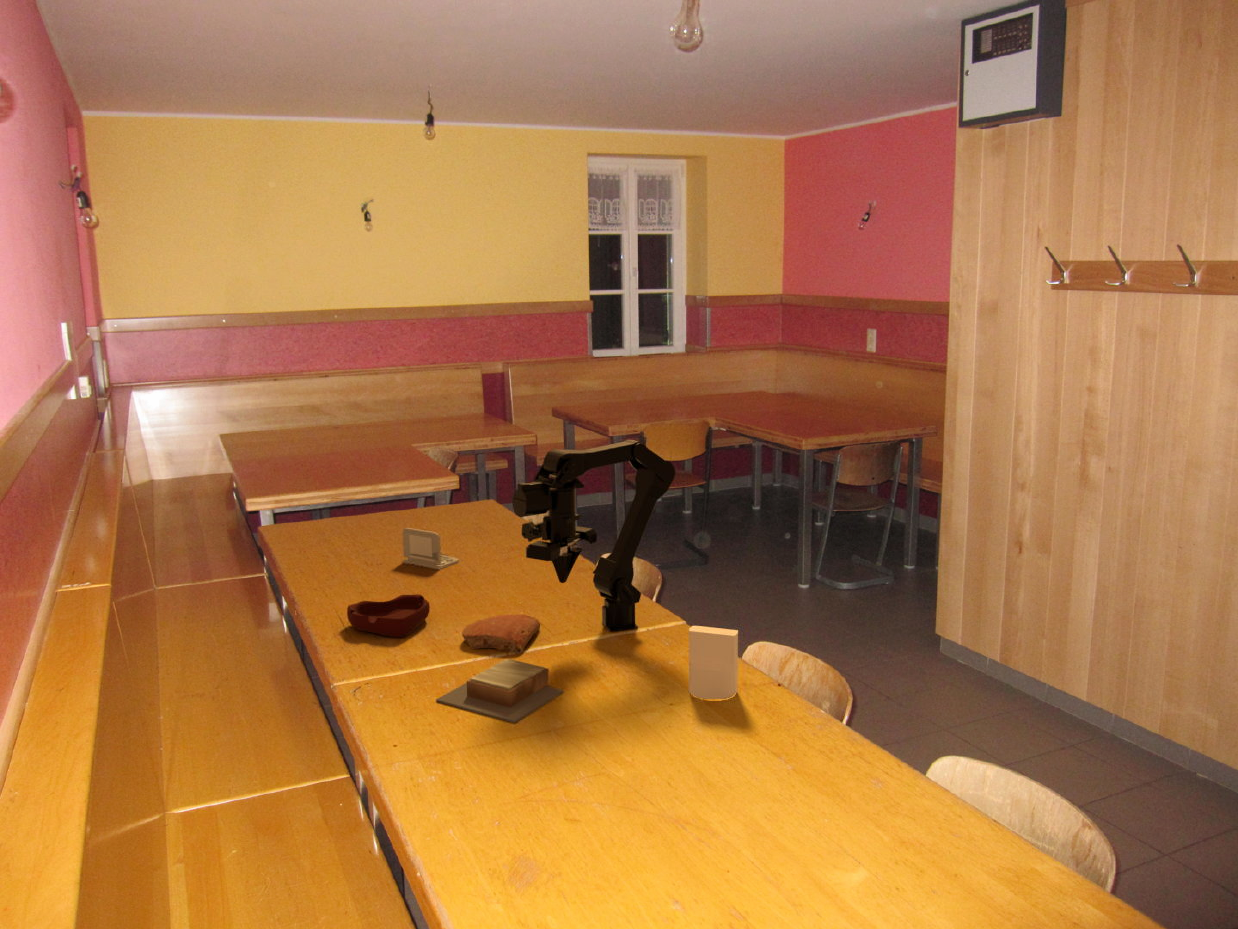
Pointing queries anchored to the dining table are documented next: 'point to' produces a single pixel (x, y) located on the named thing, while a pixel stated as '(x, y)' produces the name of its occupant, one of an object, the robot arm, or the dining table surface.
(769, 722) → the dining table surface
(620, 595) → the robot arm
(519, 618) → the ceramic shard
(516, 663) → the brown wooden block
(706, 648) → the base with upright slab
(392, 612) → the ashtray
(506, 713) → the charcoal rubber mat
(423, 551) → the handheld gaming console
